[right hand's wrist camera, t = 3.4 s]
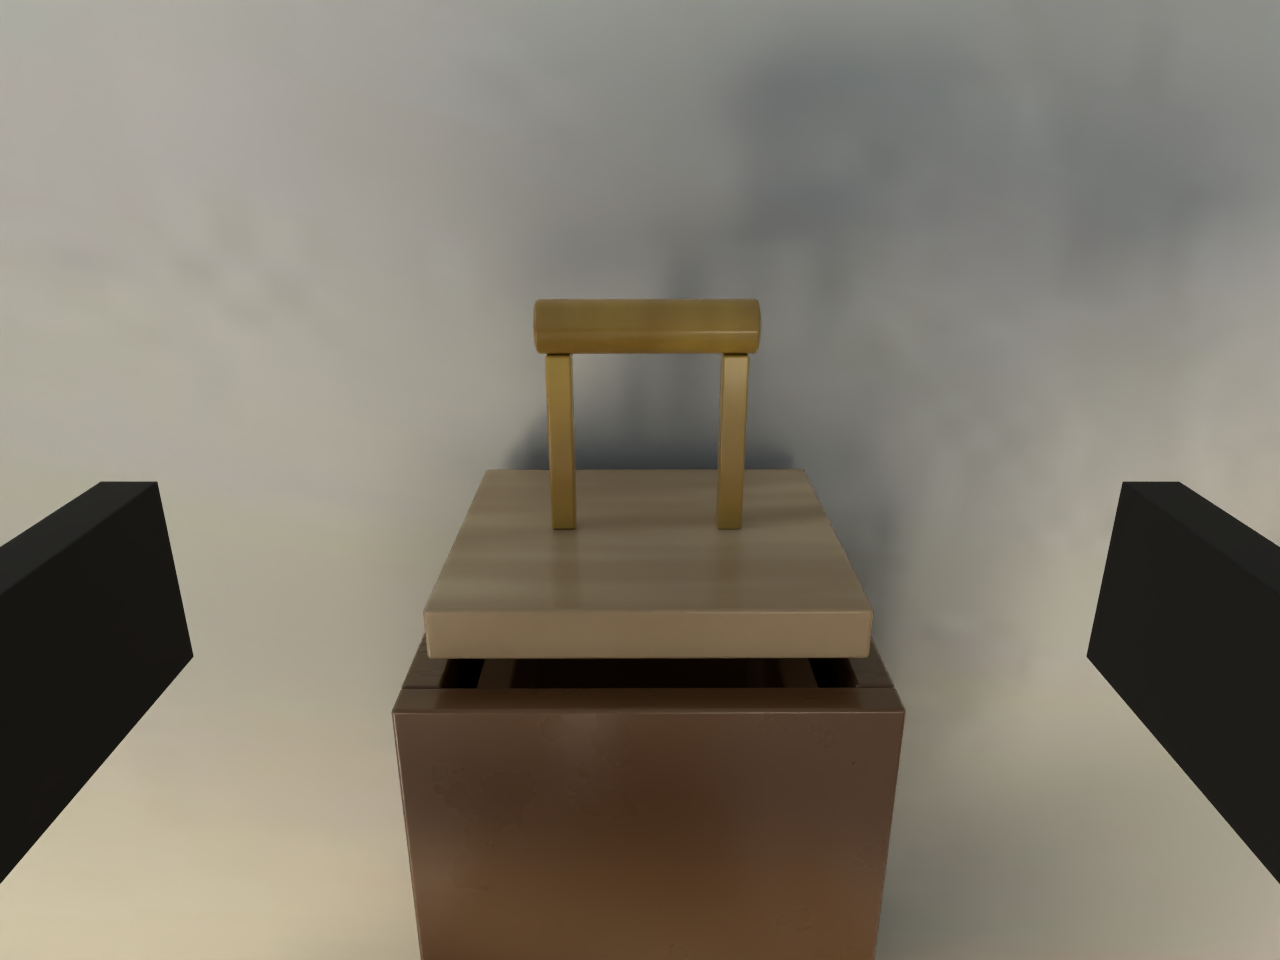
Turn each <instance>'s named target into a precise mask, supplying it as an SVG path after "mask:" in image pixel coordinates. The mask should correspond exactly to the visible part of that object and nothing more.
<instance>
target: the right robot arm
mask: <svg viewBox="0 0 1280 960" xmlns="http://www.w3.org/2000/svg"><path fill="white" fill-rule="evenodd" d="M192 658H193V652H192V647H191V642H190V637H189V632H188V628H187V623H186V618H185V613H184V608H183V604H182V599H181V594H180V589H179V584H178V579H177V575H176V570H175V565H174V560H173V555H172V550H171V546H170V541H169V536H168V531H167V526H166V521H165V517H164V512H163V507H162V502H161V497H160V493H159V488H158V483H157V482H100V483H98V484H97V485H95V486H94V487H92V488H90V489H89V490H87V491H86V492H84V493H83V494H81V495H80V496H78V497H77V498H75V499H74V500H72V501H70V502H69V503H67V504H66V505H64V506H63V507H61V508H60V509H58V510H57V511H55V512H54V513H52V514H50V515H49V516H47V517H46V518H44V519H43V520H41V521H40V522H38V523H37V524H35V525H34V526H32V527H30V528H29V529H27V530H26V531H24V532H23V533H21V534H20V535H18V536H17V537H15V538H14V539H12V540H10V541H9V542H7V543H6V544H4V545H3V546H1V547H0V884H1V882H2V881H3V880H4V879H5V878H6V876H7V875H8V874H9V873H10V872H11V871H12V869H13V868H14V867H15V866H16V865H17V864H18V862H19V861H20V860H21V859H22V858H23V856H24V855H25V854H26V853H27V852H28V851H29V849H30V848H31V847H32V846H33V845H34V844H35V842H36V841H37V840H38V839H39V838H40V836H41V835H42V834H43V833H44V832H45V831H46V829H47V828H48V827H49V826H50V825H51V824H52V822H53V821H54V820H55V819H56V818H57V816H58V815H59V814H60V813H61V812H62V811H63V809H64V808H65V807H66V806H67V805H68V804H69V802H70V801H71V800H72V799H73V798H74V796H75V795H76V794H77V793H78V792H79V791H80V789H81V788H82V787H83V786H84V785H85V784H86V782H87V781H88V780H89V779H90V778H91V776H92V775H93V774H94V773H95V772H96V771H97V769H98V768H99V767H100V766H101V765H102V764H103V762H104V761H105V760H106V759H107V758H108V756H109V755H110V754H111V753H112V752H113V751H114V749H115V748H116V747H117V746H118V745H119V744H120V742H121V741H122V740H123V739H124V738H125V736H126V735H127V734H128V733H129V732H130V731H131V729H132V728H133V727H134V726H135V725H136V724H137V722H138V721H139V720H140V719H141V718H142V716H143V715H144V714H145V713H146V712H147V711H148V709H149V708H150V707H151V706H152V705H153V704H154V702H155V701H156V700H157V699H158V698H159V697H160V695H161V694H162V693H163V692H164V691H165V689H166V688H167V687H168V686H169V685H170V684H171V682H172V681H173V680H174V679H175V678H176V677H177V675H178V674H179V673H180V672H181V671H182V669H183V668H184V667H185V666H186V665H187V664H188V662H189V661H190V660H191V659H192ZM1087 658H1088V659H1089V660H1090V661H1091V662H1092V664H1093V665H1094V666H1095V667H1096V668H1097V669H1098V671H1099V672H1100V673H1101V674H1102V675H1103V677H1104V678H1105V679H1106V680H1107V681H1108V682H1109V684H1110V685H1111V686H1112V687H1113V688H1114V689H1115V691H1116V692H1117V693H1118V694H1119V695H1120V697H1121V698H1122V699H1123V700H1124V701H1125V702H1126V704H1127V705H1128V706H1129V707H1130V708H1131V709H1132V711H1133V712H1134V713H1135V714H1136V715H1137V717H1138V718H1139V719H1140V720H1141V721H1142V722H1143V724H1144V725H1145V726H1146V727H1147V728H1148V729H1149V731H1150V732H1151V733H1152V734H1153V735H1154V736H1155V738H1156V739H1157V740H1158V741H1159V742H1160V744H1161V745H1162V746H1163V747H1164V748H1165V749H1166V751H1167V752H1168V753H1169V754H1170V755H1171V756H1172V758H1173V759H1174V760H1175V761H1176V762H1177V764H1178V765H1179V766H1180V767H1181V768H1182V769H1183V771H1184V772H1185V773H1186V774H1187V775H1188V776H1189V778H1190V779H1191V780H1192V781H1193V782H1194V784H1195V785H1196V786H1197V787H1198V788H1199V789H1200V791H1201V792H1202V793H1203V794H1204V795H1205V796H1206V798H1207V799H1208V800H1209V801H1210V802H1211V804H1212V805H1213V806H1214V807H1215V808H1216V809H1217V811H1218V812H1219V813H1220V814H1221V815H1222V816H1223V818H1224V819H1225V820H1226V821H1227V822H1228V824H1229V825H1230V826H1231V827H1232V828H1233V829H1234V831H1235V832H1236V833H1237V834H1238V835H1239V836H1240V838H1241V839H1242V840H1243V841H1244V842H1245V844H1246V845H1247V846H1248V847H1249V848H1250V849H1251V851H1252V852H1253V853H1254V854H1255V855H1256V856H1257V858H1258V859H1259V860H1260V861H1261V862H1262V864H1263V865H1264V866H1265V867H1266V868H1267V869H1268V871H1269V872H1270V873H1271V874H1272V875H1273V876H1274V878H1275V879H1276V880H1277V881H1278V882H1279V884H1280V547H1279V546H1277V545H1276V544H1274V543H1273V542H1271V541H1270V540H1268V539H1266V538H1265V537H1263V536H1262V535H1260V534H1259V533H1257V532H1256V531H1254V530H1253V529H1251V528H1250V527H1248V526H1246V525H1245V524H1243V523H1242V522H1240V521H1239V520H1237V519H1236V518H1234V517H1233V516H1231V515H1230V514H1228V513H1226V512H1225V511H1223V510H1222V509H1220V508H1219V507H1217V506H1216V505H1214V504H1213V503H1211V502H1210V501H1208V500H1206V499H1205V498H1203V497H1202V496H1200V495H1199V494H1197V493H1196V492H1194V491H1193V490H1191V489H1190V488H1188V487H1186V486H1185V485H1183V484H1182V483H1180V482H1123V483H1122V488H1121V493H1120V497H1119V502H1118V507H1117V512H1116V517H1115V521H1114V526H1113V531H1112V536H1111V541H1110V546H1109V550H1108V555H1107V560H1106V565H1105V570H1104V575H1103V579H1102V584H1101V589H1100V594H1099V599H1098V604H1097V608H1096V613H1095V618H1094V623H1093V628H1092V632H1091V637H1090V642H1089V647H1088V652H1087Z"/></svg>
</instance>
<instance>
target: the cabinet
mask: <svg viewBox="0 0 1280 960" xmlns="http://www.w3.org/2000/svg"><path fill="white" fill-rule="evenodd" d="M484 660H485V659H431V658H429V657H428V654H427V644H426V634H425V633H424V636H423V638H422V640H421V643H420V645H419V647H418V650H417V652H416V655H415V657H414V659H413V662H412V664H411V666H410V669H409V671H408V673H407V676H406V678H405V680H404V683H403V685H402V690H401V691H400V693H399V695H398V698H397V700H396V703H395V705H394V707H393V710H392V720H393V729H394V737H395V745H396V754H397V762H398V771H399V779H400V788H401V796H402V804H403V813H404V821H405V830H406V838H407V846H408V855H409V863H410V872H411V880H412V889H413V897H414V905H415V914H416V922H417V931H418V939H419V947H420V956H421V960H875V952H876V944H877V936H878V928H879V920H880V912H881V904H882V896H883V888H884V880H885V872H886V864H887V856H888V848H889V840H890V832H891V824H892V816H893V808H894V800H895V792H896V784H897V776H898V768H899V760H900V752H901V744H902V736H903V728H904V720H905V712H906V711H905V708H904V706H903V704H902V702H901V699H900V697H899V695H898V693H897V691H896V689H895V688H894V685H893V683H892V680H891V678H890V676H889V674H888V672H887V670H886V667H885V665H884V663H883V661H882V659H881V657H880V655H879V652H878V650H877V648H876V646H875V644H874V642H873V639H872V637H871V638H870V648H869V655H868V657H866V658H809V660H810V663H811V666H812V669H813V672H814V675H815V678H816V681H817V685H818V688H476V687H477V684H478V680H479V677H480V674H481V670H482V667H483V663H484Z"/></svg>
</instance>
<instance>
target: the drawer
mask: <svg viewBox="0 0 1280 960" xmlns="http://www.w3.org/2000/svg"><path fill="white" fill-rule="evenodd" d="M533 328H534V343H535V348H536V351H537V353H539V354H547V355H546V357H545V370H546V396H547V421H548V447H549V470H487V471H486V472H485V475H484V477H483V479H482V481H481V484H480V486H479V488H478V490H477V492H476V495H475V497H474V499H473V501H472V504H471V506H470V508H469V510H468V513H467V515H466V517H465V519H464V522H463V524H462V526H461V528H460V531H459V533H458V535H457V537H456V540H455V542H454V544H453V546H452V548H451V551H450V553H449V555H448V557H447V560H446V562H445V564H444V566H443V569H442V571H441V573H440V575H439V578H438V580H437V582H436V584H435V587H434V589H433V591H432V593H431V596H430V598H429V600H428V602H427V604H426V607H425V609H424V612H423V614H424V624H425V634H426V644H427V654H428V657H429V658H431V659H485V660H484V663H483V667H482V670H481V674H480V677H479V680H478V684H477V687H476V688H818V685H817V681H816V678H815V675H814V672H813V669H812V666H811V663H810V660H809V658H866V657H868V655H869V648H870V638H871V629H872V619H873V609H872V607H871V605H870V603H869V601H868V599H867V597H866V595H865V593H864V590H863V588H862V586H861V584H860V582H859V580H858V578H857V576H856V574H855V572H854V570H853V568H852V566H851V564H850V562H849V560H848V558H847V556H846V554H845V552H844V550H843V548H842V546H841V544H840V542H839V540H838V538H837V536H836V534H835V532H834V530H833V528H832V526H831V524H830V522H829V520H828V518H827V516H826V514H825V512H824V510H823V507H822V505H821V503H820V501H819V499H818V497H817V495H816V493H815V491H814V489H813V487H812V485H811V483H810V481H809V479H808V477H807V475H806V473H805V471H804V470H802V469H744V461H745V438H746V415H747V392H748V370H749V356H748V354H754V353H756V352H757V351H758V348H759V343H760V334H761V312H760V305H759V302H758V300H756V299H538V300H536V302H535V305H534V317H533ZM572 354H721V372H720V403H719V434H718V465H717V470H576V465H575V429H574V394H573V358H572Z"/></svg>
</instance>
